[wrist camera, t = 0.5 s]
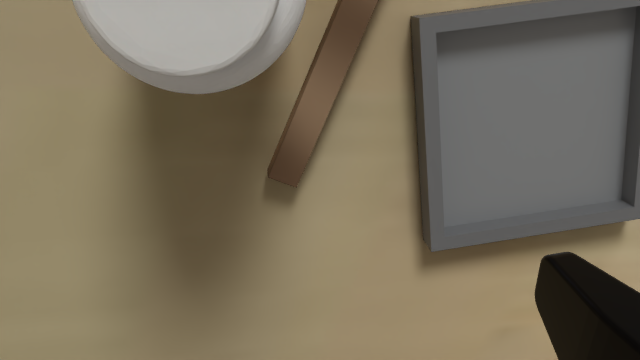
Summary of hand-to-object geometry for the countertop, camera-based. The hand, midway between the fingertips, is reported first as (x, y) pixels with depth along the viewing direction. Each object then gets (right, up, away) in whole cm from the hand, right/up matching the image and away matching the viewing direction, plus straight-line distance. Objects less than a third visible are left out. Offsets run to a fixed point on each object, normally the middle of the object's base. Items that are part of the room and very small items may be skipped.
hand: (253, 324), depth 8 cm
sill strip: (+2, +8, +13) cm, 15 cm away
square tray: (+10, +5, +15) cm, 18 cm away
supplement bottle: (-3, +10, +12) cm, 16 cm away
